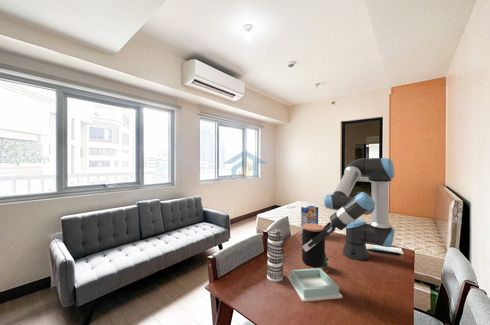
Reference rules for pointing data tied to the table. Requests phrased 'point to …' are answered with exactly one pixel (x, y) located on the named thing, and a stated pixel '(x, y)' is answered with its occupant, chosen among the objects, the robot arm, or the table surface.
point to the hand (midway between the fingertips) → (307, 245)
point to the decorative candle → (275, 255)
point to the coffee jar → (317, 252)
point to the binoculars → (325, 265)
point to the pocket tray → (313, 284)
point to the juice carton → (309, 215)
